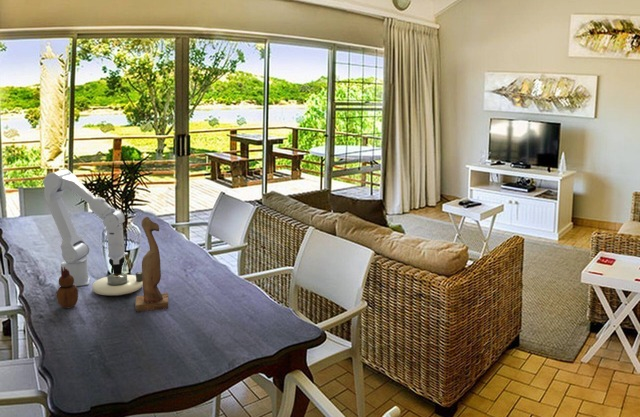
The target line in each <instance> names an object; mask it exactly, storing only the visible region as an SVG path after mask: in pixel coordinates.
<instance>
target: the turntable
mask: <svg viewBox="0 0 640 417" xmlns="http://www.w3.org/2000/svg"><path fill="white" fill-rule="evenodd" d="M107 277H108V276H104V277H102V278H99V279H97V280H95V281H94V282H93V283H92V292H93V293H95V294H98V295H101V296H106V295H120V296H123V295H122V294H125V295H128V294H127V293H129V294H132V293H133V292H136V291H139V290H140V289H141V288H143V281H142V271H139V272H136V273H135V274H134V275H133V274H127V283H126V284H124V285H120V286H110V285H108V279H107ZM131 292H132V293H131Z"/></svg>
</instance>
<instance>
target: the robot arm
mask: <svg viewBox="0 0 640 417" xmlns="http://www.w3.org/2000/svg"><path fill="white" fill-rule="evenodd" d="M42 185H43V187H44V191H43V192H44V193H43V194H44V195H43V196H44V199H45V201H46V204H47V206H48V209H49V211H50V214H51V216H52V218H53V220H54V223H55V225H56V227H57V230H58V232H59V235H60V238H61V239H62V241H61V243H60V244H61V245H60V249H61V252H62V253H61V257H62V259H63V260H64V261H62V262H60V268H61V267H62V268H63V271H64V267H65V269H67V270H69V273H70V275H72V276H73V278H74V283H73V285H75V286H76V287H79V286H82V287H83V286H89V285H90V281H91V277H90V276H89V273H88V261H87V259H88V254H89V253H90V247H89V244H88V243H86V241H85V240H84V238H83V237H82V236H81V235H79V234H78V233H77V231H76V229H75V228H76V227H75V226H74V222H73V221H72V219H71V215H70V213H69V211H68V209H67V206H66V204H65V202H64V199H63V197H62V196H63V194H64V192H65V191H69V192H70V191H71V192H73V193H74V194H76V195H77V196H78V197H79V198H81V199H82V200H83V201H85V202H86V203H87V204H88V207H89V209H90V210H91V211H92V212H93V213H94V214H95V215H96V216H98V217H99V218H100V220H102V223H103V225H104V227H105V228H106V232H107V233H106V234H107V236H106V237H107V238H106V239H107V249H108V250H107V251H108V254H107V255H108V256H107V257H108V258H109V259H108V263H109V264H110V266H111V268H112V271H113V274H115V273H123V265H124V263H125V261H126V256H128V255H129V252H125V241H124V240H125V239H124V237H125V236H124V228H123V227H124V225H123V224H124V222H125V220H126V218H125V217H126V216H125V214H124V213H123V211H122V210H121V209H116V208H115V207H112V206H111V204H109V203H108V202H107V201H106V199H105V198H104V197H103V198H102V197H101V196H98V197H97V196H95V195H94V194H93V193H92V192H91V191H90V190H89V189H88V188H87V187H86V186H85V185H84V184H83V183H81V181H79V180H78V177H77V175H75V174H74V173H72V172H71V171H70V170H69V169H66V168H64V169H61V170H56V171H54V172H53V171H52V172H49V173H47V174H46V175H45V177H44V179H43V181H42Z"/></svg>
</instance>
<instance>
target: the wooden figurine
mask: <svg viewBox="0 0 640 417" xmlns="http://www.w3.org/2000/svg"><path fill="white" fill-rule="evenodd" d="M73 283H74V278H73V276H72V275H70V273H69V270H67V269H65V267H64V271H63V268H62V267H61V266H60V277H59V278H58V285H59V288H58V289H57V290H56V300H57V302H58V304H59V306H60V307H61V308H62V309H70V308H72V307H75V306H76V304H77V302H78V299H79V289H78V286H75V285H73Z"/></svg>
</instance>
